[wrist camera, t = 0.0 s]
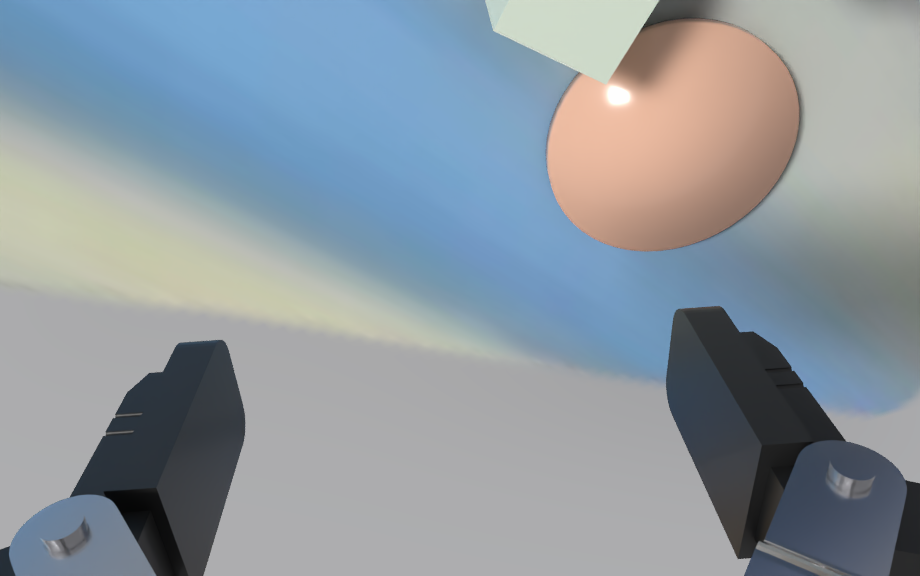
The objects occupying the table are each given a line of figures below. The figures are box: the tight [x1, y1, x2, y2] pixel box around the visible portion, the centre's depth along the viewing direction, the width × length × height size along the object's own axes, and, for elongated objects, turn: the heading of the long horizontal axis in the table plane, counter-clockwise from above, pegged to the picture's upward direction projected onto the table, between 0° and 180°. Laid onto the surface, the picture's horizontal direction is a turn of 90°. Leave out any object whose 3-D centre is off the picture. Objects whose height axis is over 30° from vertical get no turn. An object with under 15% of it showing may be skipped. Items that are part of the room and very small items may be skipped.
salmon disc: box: [546, 18, 799, 251], centre depth 35 cm, size 12×12×1 cm
